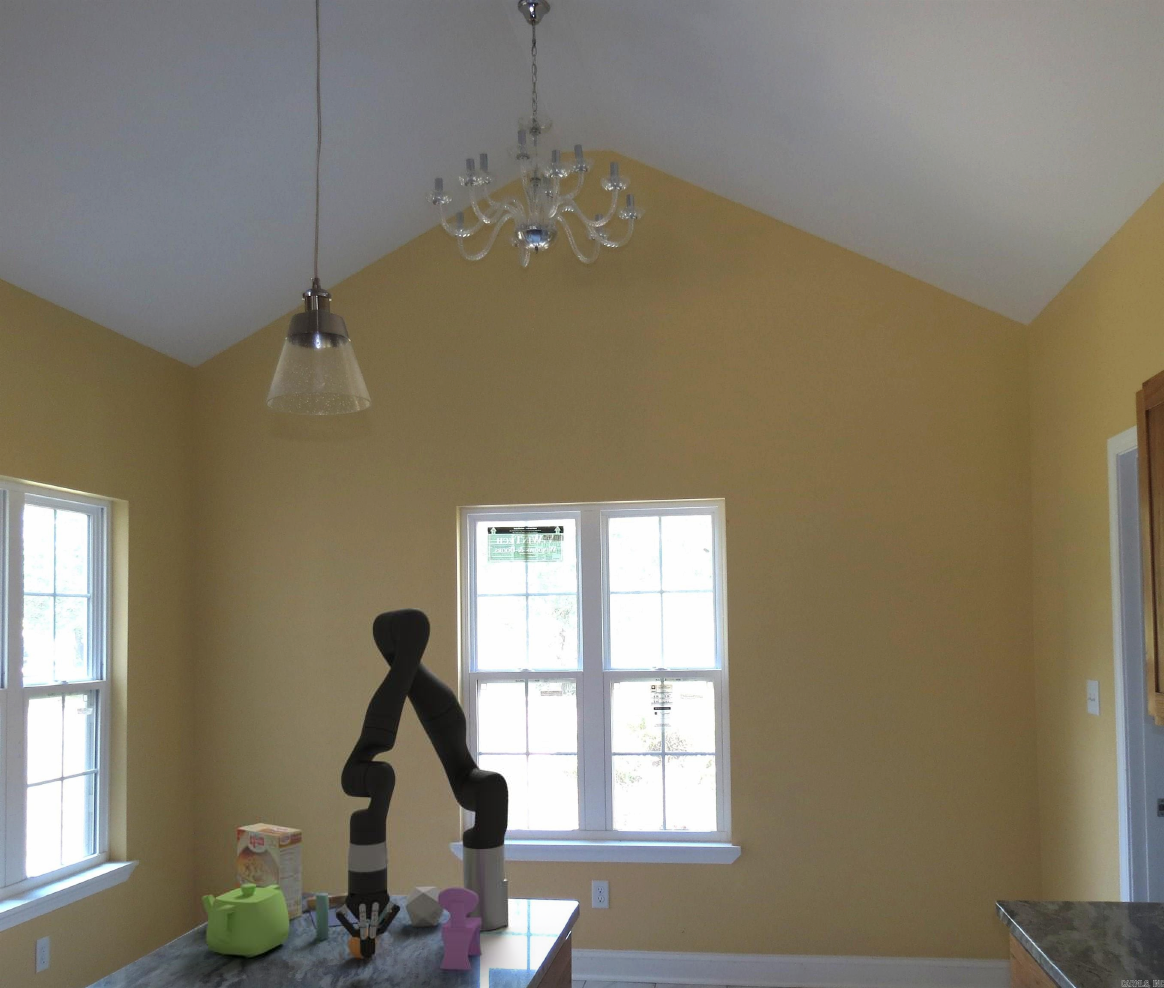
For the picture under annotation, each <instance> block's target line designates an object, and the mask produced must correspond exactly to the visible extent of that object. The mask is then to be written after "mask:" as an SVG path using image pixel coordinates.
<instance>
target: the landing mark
mask: <svg viewBox="0 0 1164 988" xmlns="http://www.w3.org/2000/svg"><path fill="white" fill-rule="evenodd" d="M341 907H342V906H338V907H330V908H329V928H332V927H339V926H343V925H342V924H341V923H340V921H339V920H338V919H337V918H336V916H335V910H336V909H340V908H341ZM347 912H348V917H347V919H348V920H349V921H350V922H351V923H352V925H353V924H355V925H356V924H358V920H357V919H356V918H355V917H354V916H353V914H352V913H351V912H350V910H349V909H348V910H347ZM309 913H310V917H311V919H312V922H313V925H314V929H316V909H314V910H310V911H309ZM366 923H368V919H367V920H366Z"/></svg>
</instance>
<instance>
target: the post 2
mask: <svg viewBox="0 0 1164 988" xmlns="http://www.w3.org/2000/svg"><path fill="white" fill-rule="evenodd" d="M386 908H387V906H386V907H385V909H384V910H383V912H382V914H381V915H380V916H379V917H378V919H377V926H378V924H379V923H380V921H381V920H382V919H383V917H384V916H385V914H386V913H387V910H386ZM388 928H389V927H388ZM388 928H387V929H386V931H385V932H387V931H388Z"/></svg>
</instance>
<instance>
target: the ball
mask: <svg viewBox="0 0 1164 988" xmlns="http://www.w3.org/2000/svg"><path fill="white" fill-rule="evenodd" d="M367 936H368V929H367ZM377 943H378V942H377V938H376V939H375V950H377V949H376V948H377ZM348 949H349V952H350V953H351V955H352V956H353V957H354V958H357V959H362V960H363V959H364V958H363V956H361V954H360V938H358V937H352V936H351V935H350V938H349V941H348ZM364 960H365V959H364Z"/></svg>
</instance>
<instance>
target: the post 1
mask: <svg viewBox="0 0 1164 988" xmlns="http://www.w3.org/2000/svg"><path fill="white" fill-rule="evenodd" d="M329 895H330V894H329V893H328V892H321V893H317V894H316V895H315V897H316V928H315V939H316V940H317V941H324V940H327V939H330V938H329V937H330V936H329V935H330V934H329V932H330V930H329V928H330V927H329Z"/></svg>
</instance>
